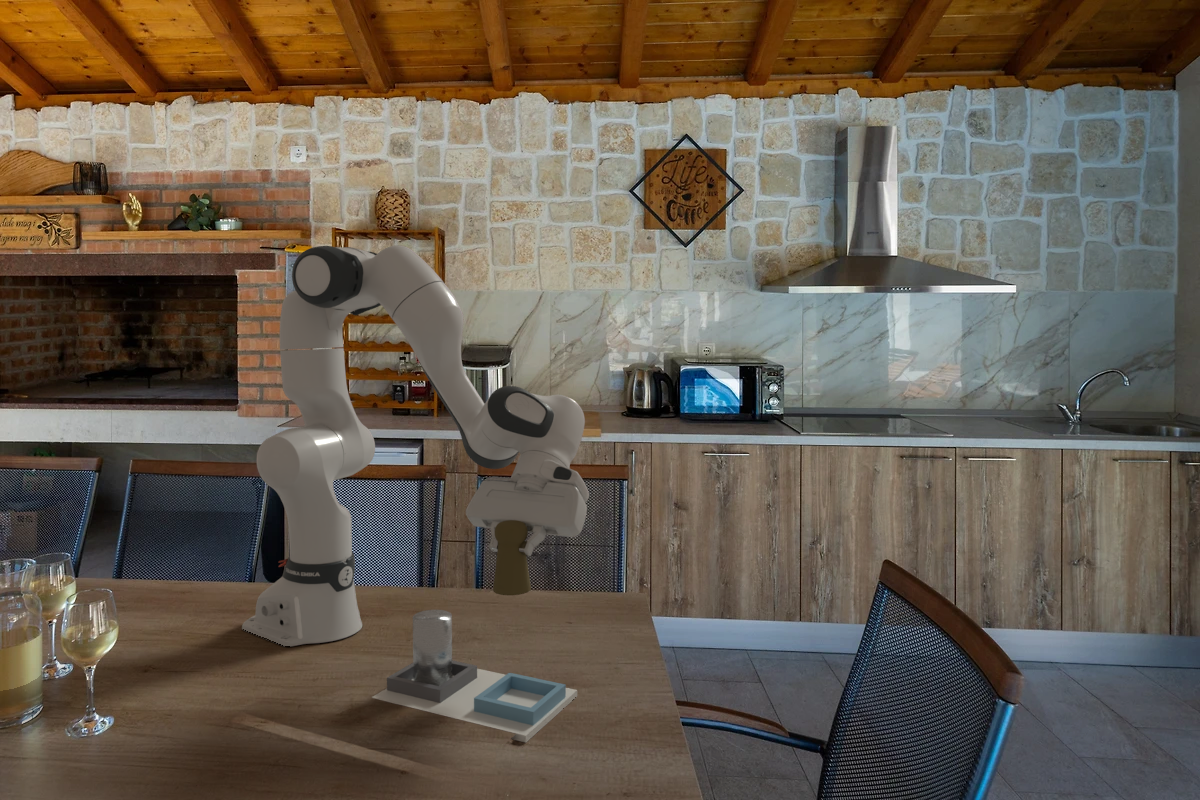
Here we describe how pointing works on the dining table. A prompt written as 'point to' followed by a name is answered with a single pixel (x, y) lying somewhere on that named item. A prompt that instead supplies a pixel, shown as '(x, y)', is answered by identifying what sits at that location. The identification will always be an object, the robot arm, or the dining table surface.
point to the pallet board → (483, 698)
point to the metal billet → (432, 647)
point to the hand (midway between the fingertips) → (509, 552)
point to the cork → (511, 559)
